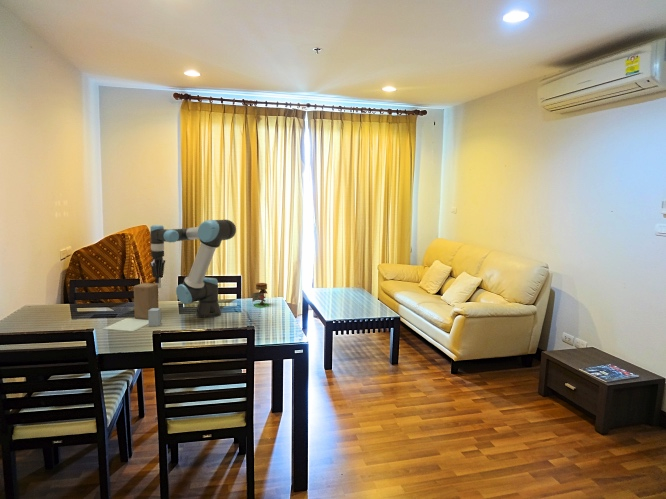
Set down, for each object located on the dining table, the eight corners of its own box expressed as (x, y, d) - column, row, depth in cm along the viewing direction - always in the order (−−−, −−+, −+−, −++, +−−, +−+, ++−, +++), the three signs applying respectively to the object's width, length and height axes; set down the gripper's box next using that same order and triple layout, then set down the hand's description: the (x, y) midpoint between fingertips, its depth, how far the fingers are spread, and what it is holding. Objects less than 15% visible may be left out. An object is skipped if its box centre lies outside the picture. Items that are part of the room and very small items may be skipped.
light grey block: (161, 323, 239) (160, 308, 238) (157, 326, 234) (157, 310, 233) (152, 323, 239) (152, 308, 238) (148, 326, 234) (148, 310, 233)
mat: (154, 321, 243) (154, 320, 243) (132, 331, 223) (132, 330, 223) (126, 319, 246) (126, 318, 246) (102, 329, 226) (102, 328, 226)
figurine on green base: (274, 304, 288) (274, 283, 287) (263, 308, 277) (264, 286, 275) (259, 302, 293) (259, 281, 291) (249, 306, 282) (249, 284, 280)
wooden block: (149, 320, 244) (148, 286, 242) (133, 319, 246) (132, 285, 244) (159, 315, 254) (158, 283, 252) (144, 314, 256) (143, 282, 254)
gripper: (158, 248, 265) (159, 285, 268) (145, 251, 252) (146, 289, 255) (169, 249, 264) (169, 286, 266) (156, 251, 251) (157, 290, 254)
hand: (158, 287), depth 261 cm, fingers closed
